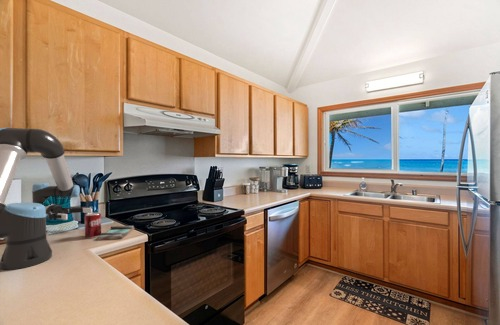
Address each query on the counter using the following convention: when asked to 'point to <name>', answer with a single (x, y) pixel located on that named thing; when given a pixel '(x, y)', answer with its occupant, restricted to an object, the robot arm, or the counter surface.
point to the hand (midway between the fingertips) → (79, 213)
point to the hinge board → (115, 233)
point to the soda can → (92, 225)
